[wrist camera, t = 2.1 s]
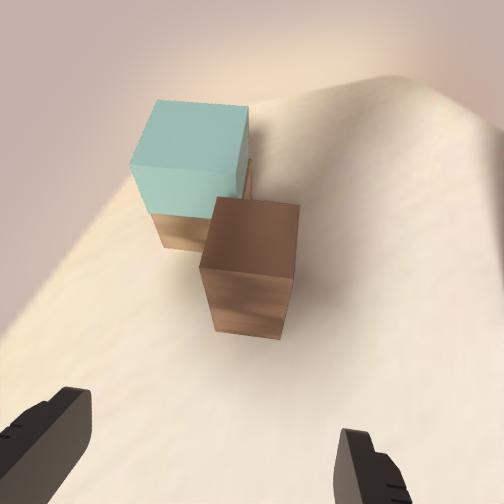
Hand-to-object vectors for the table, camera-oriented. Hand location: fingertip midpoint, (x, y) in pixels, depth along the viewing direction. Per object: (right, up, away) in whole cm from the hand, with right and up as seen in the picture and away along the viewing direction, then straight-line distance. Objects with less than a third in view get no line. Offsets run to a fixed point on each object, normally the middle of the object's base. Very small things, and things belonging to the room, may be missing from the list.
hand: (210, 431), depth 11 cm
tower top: (-3, +11, +17) cm, 21 cm away
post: (+1, +1, +17) cm, 17 cm away
